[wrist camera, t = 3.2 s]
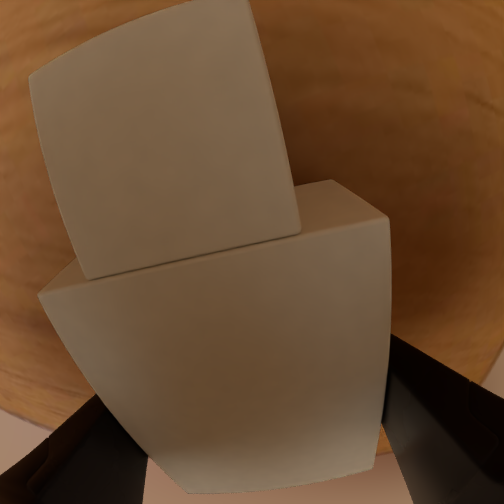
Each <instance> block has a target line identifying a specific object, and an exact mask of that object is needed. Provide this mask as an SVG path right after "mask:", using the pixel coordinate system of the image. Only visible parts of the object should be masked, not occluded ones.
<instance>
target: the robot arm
mask: <svg viewBox="0 0 504 504" xmlns="http://www.w3.org/2000/svg"><path fill="white" fill-rule="evenodd" d="M381 423H382V425H383V428H384V430H385V432H386V435H387V437H388V440H389V442H390V445H391V447H392V449H393V452H394V454H395V457H396V459H397V462H398V464H399V467H400V469H401V472H402V474H403V477H404V479H405V482H406V485H407V487H408V490H409V492H410V495H411V498H412V500H413V503H414V504H504V399H503V398H501V397H499V396H497V395H495V394H493V393H492V392H490V391H488V390H486V389H485V388H483V387H481V386H479V385H478V384H476V383H474V382H473V381H469V379H467V378H466V377H464V376H462V375H461V374H459V373H457V372H455V371H454V370H452V369H450V368H449V367H447V366H445V365H444V364H442V363H440V362H439V361H437V360H435V359H433V358H432V357H430V356H428V355H427V354H425V353H423V352H422V351H420V350H418V349H417V348H415V347H413V346H411V345H410V344H408V343H406V342H405V341H403V340H401V339H400V338H398V337H396V336H395V335H393V334H391V333H390V348H389V361H388V373H387V382H386V391H385V399H384V407H383V414H382V421H381ZM147 462H148V455H147V454H146V453H145V451H144V450H143V449H142V448H141V447H140V446H139V445H138V444H137V443H136V442H135V440H134V439H133V438H132V437H131V436H130V435H129V434H128V432H127V431H126V430H125V429H124V428H123V427H122V425H121V424H120V423H119V422H118V420H117V419H116V418H115V417H114V416H113V414H112V413H111V412H110V411H109V409H108V408H107V407H106V405H105V404H104V403H103V401H102V400H101V399H100V397H99V396H98V395H97V393H96V394H95V395H94V396H93V397H92V398H91V399H89V400H88V401H87V402H86V403H85V404H84V405H83V406H82V407H81V408H79V409H78V410H77V411H76V412H75V413H74V414H73V415H72V416H71V417H69V418H68V419H67V420H66V421H65V422H64V423H63V424H62V425H61V426H59V427H58V428H57V429H56V430H55V431H54V432H53V433H52V434H51V435H50V436H49V438H46V439H45V440H44V441H43V442H42V443H41V444H40V445H38V446H37V447H36V448H35V449H34V450H33V451H31V452H30V453H29V454H28V455H26V456H25V457H24V458H23V459H21V460H20V461H19V462H18V463H16V464H15V465H13V466H12V467H11V468H9V469H8V470H7V471H5V472H4V473H3V474H1V475H0V504H142V502H143V493H144V485H145V477H146V468H147Z"/></svg>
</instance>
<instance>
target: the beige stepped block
mask: <svg viewBox="0 0 504 504" xmlns="http://www.w3.org/2000/svg"><path fill="white" fill-rule="evenodd" d="M28 81H29V88H30V94H31V101H32V106H33V112H34V117H35V122H36V127H37V132H38V136H39V141H40V145H41V149H42V153H43V157H44V161H45V165H46V168H47V172H48V175H49V179H50V182H51V186H52V189H53V192H54V195H55V199H56V202H57V205H58V208H59V211H60V214H61V217H62V219H63V222H64V225H65V228H66V230H67V233H68V236H69V238H70V241H71V244H72V246H73V249H74V251H75V254H76V256H77V257H76V258H75V259H74V260H72V261H71V262H70V263H69V264H68V265H67V266H66V267H65V268H64V269H63V270H62V271H60V272H59V273H58V274H57V275H56V276H55V277H54V278H53V279H52V280H51V281H50V282H49V283H48V284H47V285H46V286H45V287H44V288H43V289H42V290H41V291H40V292H39V293H38V295H37V296H38V299H39V301H40V303H41V305H42V307H43V308H44V310H45V312H46V314H47V316H48V318H49V320H50V321H51V323H52V325H53V327H54V329H55V330H56V332H57V334H58V336H59V337H60V339H61V341H62V342H63V344H64V346H65V347H66V349H67V351H68V352H69V354H70V355H71V357H72V358H73V360H74V362H75V363H76V365H77V366H78V368H79V369H80V371H81V372H82V374H83V375H84V377H85V378H86V379H87V381H88V382H89V384H90V385H91V387H92V388H93V389H94V391H95V392H96V393H97V395H98V396H99V397H100V399H101V400H102V401H103V403H104V404H105V405H106V407H107V408H108V409H109V411H110V412H111V413H112V414H113V416H114V417H115V418H116V419H117V420H118V422H119V423H120V424H121V425H122V427H123V428H124V429H125V430H126V431H127V432H128V434H129V435H130V436H131V437H132V438H133V439H134V440H135V442H136V443H137V444H138V445H139V446H140V447H141V448H142V449H143V450H144V451H145V453H146V454H147V455H148V456H149V457H150V458H151V459H152V460H153V461H154V462H155V463H156V464H157V465H158V466H159V467H160V468H161V469H162V470H163V471H164V472H165V473H166V474H167V475H168V476H169V477H170V478H171V479H172V480H174V482H176V483H177V484H178V485H179V486H180V487H181V488H182V489H183V490H184V491H185V492H187V493H188V494H220V493H242V492H254V491H265V490H274V489H280V488H288V487H295V486H301V485H307V484H312V483H318V482H323V481H327V480H332V479H336V478H341V477H345V476H349V475H352V474H356V473H360V472H364V471H367V470H370V469H372V468H373V464H374V459H375V455H376V450H377V444H378V439H379V433H380V427H381V421H382V414H383V407H384V399H385V391H386V382H387V373H388V361H389V348H390V331H391V302H392V268H391V238H390V221H389V218H388V216H386V215H385V214H383V213H382V212H381V211H379V210H378V209H376V208H375V207H373V206H372V205H370V204H369V203H368V202H366V201H365V200H363V199H362V198H360V197H359V196H357V195H356V194H354V193H353V192H351V191H350V190H348V189H347V188H345V187H343V186H342V185H340V184H339V183H337V182H336V181H334V180H332V179H330V180H324V181H319V182H314V183H309V184H304V185H299V186H294V184H293V179H292V174H291V169H290V165H289V160H288V155H287V150H286V146H285V141H284V136H283V132H282V127H281V123H280V119H279V114H278V110H277V106H276V101H275V97H274V93H273V89H272V85H271V81H270V77H269V73H268V69H267V65H266V61H265V57H264V53H263V50H262V46H261V42H260V38H259V35H258V31H257V28H256V24H255V20H254V17H253V13H252V10H251V7H250V3H249V0H193V1H189V2H185V3H182V4H179V5H175V6H172V7H169V8H166V9H163V10H160V11H157V12H154V13H151V14H148V15H146V16H143V17H140V18H138V19H135V20H133V21H130V22H128V23H125V24H123V25H121V26H118V27H116V28H114V29H111V30H109V31H107V32H105V33H103V34H101V35H98V36H96V37H94V38H92V39H90V40H88V41H86V42H84V43H82V44H81V45H79V46H77V47H75V48H73V49H71V50H69V51H68V52H66V53H64V54H62V55H61V56H59V57H57V58H55V59H54V60H52V61H50V62H49V63H47V64H46V65H44V66H42V67H41V68H39V69H38V70H36V71H35V72H33V73H32V74H30V75H29V78H28Z"/></svg>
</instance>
